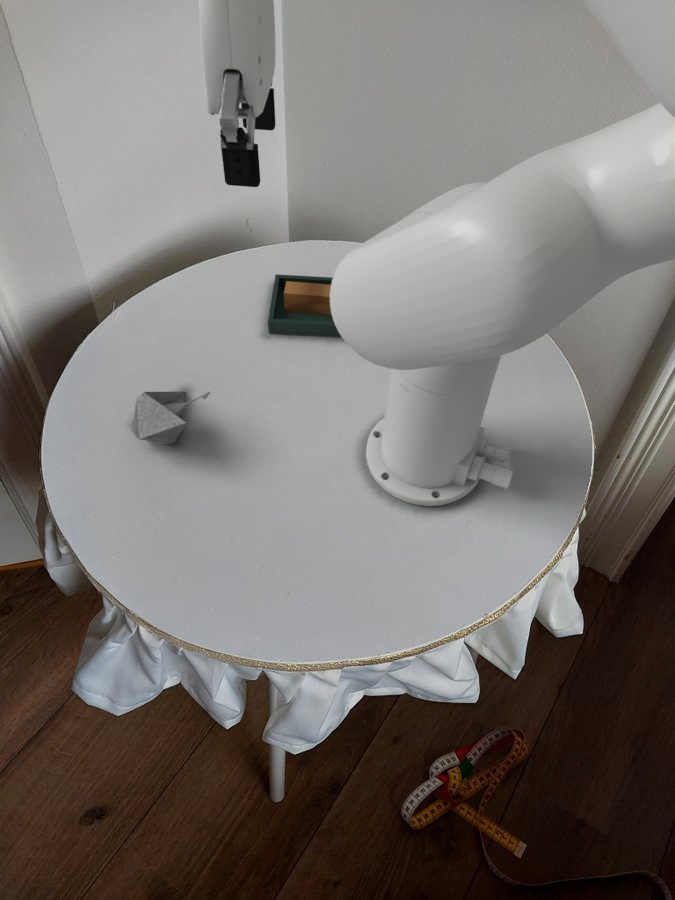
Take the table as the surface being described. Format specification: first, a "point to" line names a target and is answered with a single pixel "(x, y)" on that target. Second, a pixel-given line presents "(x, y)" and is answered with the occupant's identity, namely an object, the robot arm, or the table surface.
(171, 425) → the grey angular piece
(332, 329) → the tray
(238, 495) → the table surface
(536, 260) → the robot arm
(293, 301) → the fork
